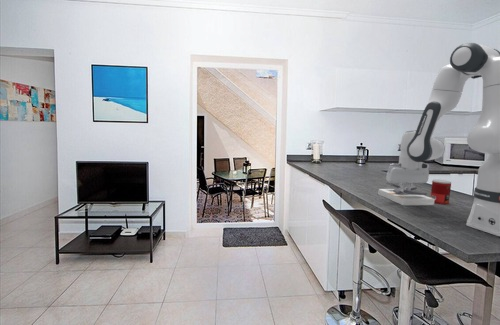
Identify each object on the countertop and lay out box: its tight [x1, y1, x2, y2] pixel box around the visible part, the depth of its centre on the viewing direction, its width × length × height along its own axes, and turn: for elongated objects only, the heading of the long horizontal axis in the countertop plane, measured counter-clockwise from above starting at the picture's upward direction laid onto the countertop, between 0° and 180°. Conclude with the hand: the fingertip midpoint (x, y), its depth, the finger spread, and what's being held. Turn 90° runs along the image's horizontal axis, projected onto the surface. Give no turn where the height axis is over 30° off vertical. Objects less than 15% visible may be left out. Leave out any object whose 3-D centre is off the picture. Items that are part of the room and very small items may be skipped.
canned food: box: [430, 179, 452, 205], centre depth 145 cm, size 8×8×11 cm
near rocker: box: [403, 190, 428, 196], centre depth 142 cm, size 4×10×1 cm, turn 96°
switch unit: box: [377, 188, 435, 206], centre depth 150 cm, size 22×16×3 cm
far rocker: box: [386, 181, 401, 189], centre depth 156 cm, size 4×10×1 cm, turn 96°
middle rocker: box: [393, 185, 417, 194], centre depth 149 cm, size 4×10×1 cm, turn 96°
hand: (405, 191), depth 142 cm, fingers closed, pressing on near rocker
